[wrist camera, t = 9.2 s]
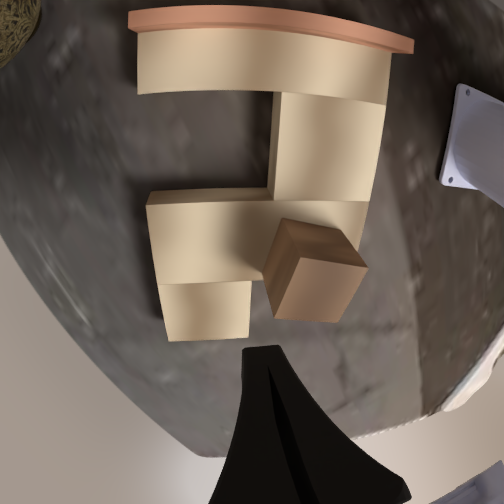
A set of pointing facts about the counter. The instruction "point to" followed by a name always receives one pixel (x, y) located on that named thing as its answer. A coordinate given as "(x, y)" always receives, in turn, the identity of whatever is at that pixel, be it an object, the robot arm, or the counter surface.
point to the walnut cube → (311, 272)
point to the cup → (17, 26)
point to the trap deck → (281, 145)
